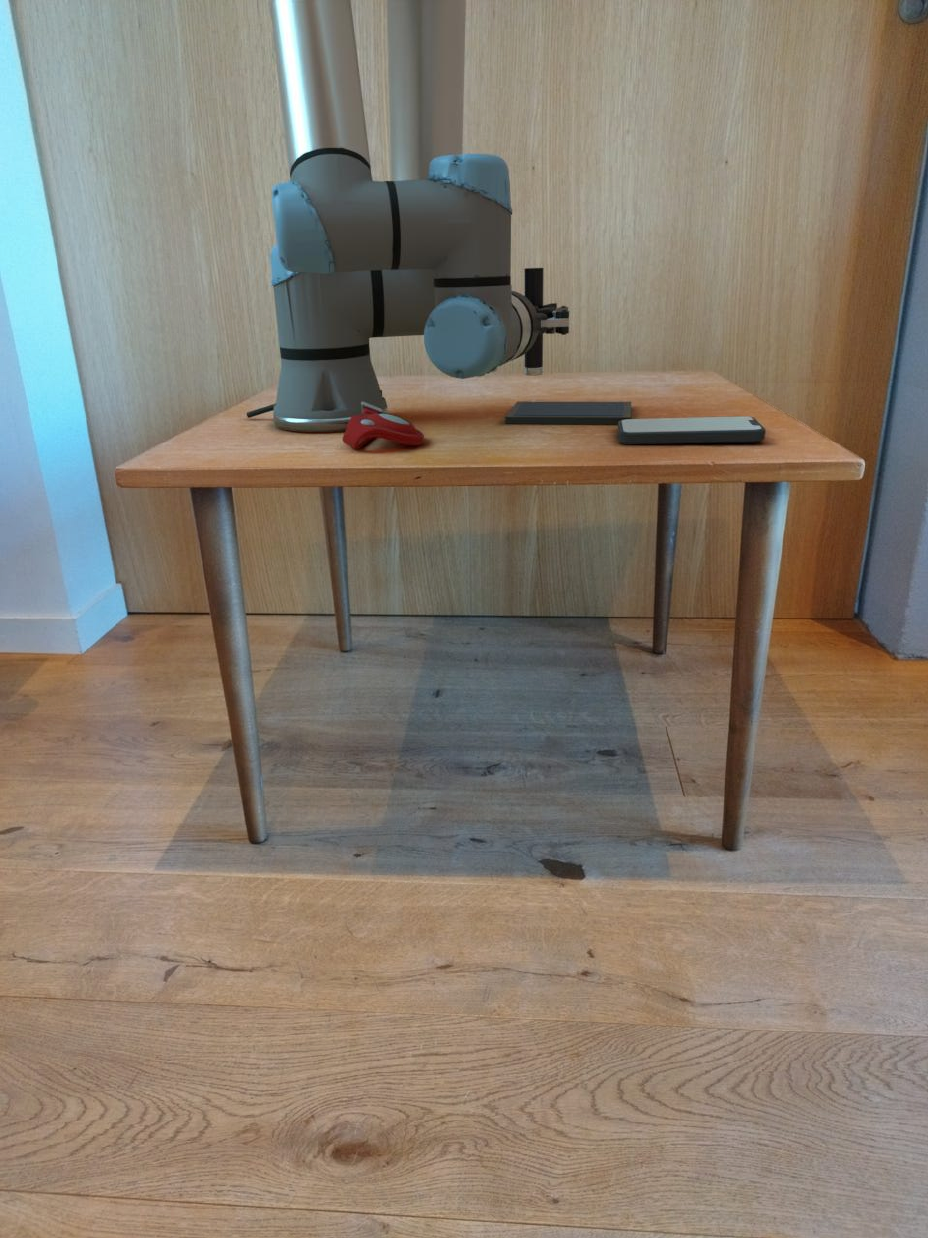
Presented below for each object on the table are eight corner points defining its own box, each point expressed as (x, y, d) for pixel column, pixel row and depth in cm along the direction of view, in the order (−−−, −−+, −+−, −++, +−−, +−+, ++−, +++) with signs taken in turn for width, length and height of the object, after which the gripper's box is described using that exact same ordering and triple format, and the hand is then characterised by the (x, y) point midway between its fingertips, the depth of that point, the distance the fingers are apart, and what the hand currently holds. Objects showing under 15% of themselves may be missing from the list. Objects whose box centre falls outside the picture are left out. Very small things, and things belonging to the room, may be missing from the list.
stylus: (521, 375, 108) (520, 268, 103) (530, 372, 110) (531, 267, 105) (536, 375, 107) (537, 267, 102) (546, 373, 109) (547, 267, 104)
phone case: (619, 447, 93) (766, 444, 90) (619, 433, 92) (768, 429, 90) (616, 431, 101) (752, 428, 98) (617, 418, 100) (753, 415, 98)
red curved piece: (443, 431, 96) (383, 424, 89) (432, 467, 98) (372, 463, 90) (376, 398, 103) (314, 389, 95) (367, 432, 105) (306, 425, 97)
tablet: (505, 423, 106) (505, 416, 106) (517, 407, 117) (517, 400, 116) (630, 424, 103) (631, 416, 103) (631, 408, 114) (631, 401, 113)
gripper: (434, 363, 94) (488, 343, 114) (567, 363, 89) (598, 342, 110) (431, 292, 91) (487, 285, 111) (569, 289, 86) (600, 282, 107)
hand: (542, 314), depth 110 cm, fingers closed on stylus, 2 cm apart
